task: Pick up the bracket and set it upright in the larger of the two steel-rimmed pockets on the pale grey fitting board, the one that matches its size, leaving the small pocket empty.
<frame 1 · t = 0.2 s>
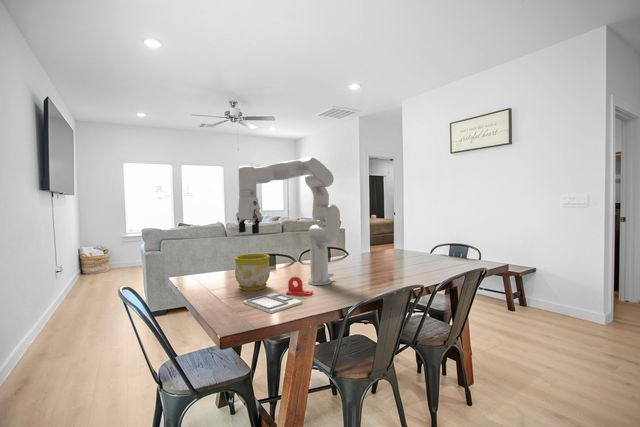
hand: (248, 232, 148), 31 cm above the table, tool pointing down, fingers open, 9 cm apart
bracket: (299, 294, 160), on the table
flowerpot: (252, 288, 173), on the table
fitting board: (272, 303, 146), on the table
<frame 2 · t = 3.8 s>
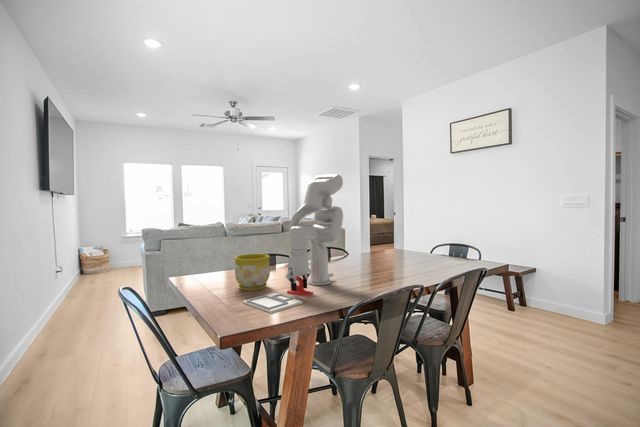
hand: (299, 289, 160), 2 cm above the table, tool pointing down, fingers open, 6 cm apart
bracket: (300, 294, 161), on the table, touching gripper
everything else where it was.
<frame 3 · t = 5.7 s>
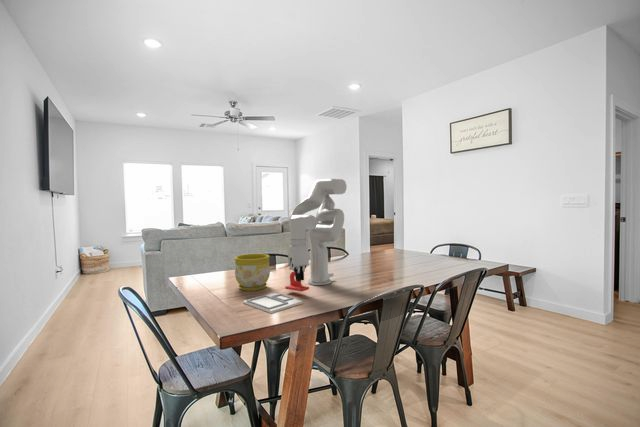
hand: (299, 280, 161), 7 cm above the table, tool pointing down, fingers closed on bracket
bracket: (297, 289, 160), point 2 cm above the table, touching gripper
everything else where it was.
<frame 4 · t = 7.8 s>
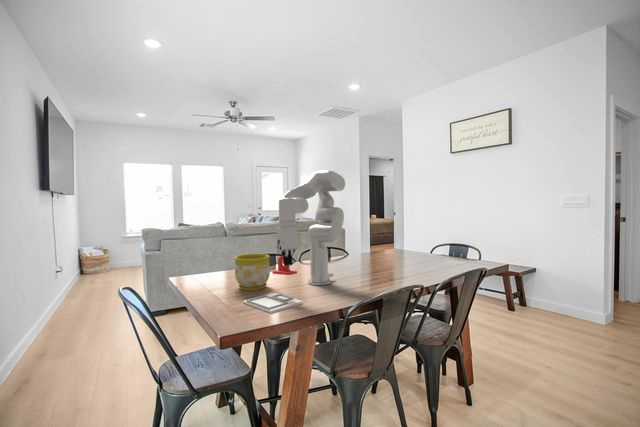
hand: (287, 264, 154), 15 cm above the table, tool pointing down, fingers closed on bracket
bracket: (284, 274, 153), point 11 cm above the table, touching gripper
everything else where it was.
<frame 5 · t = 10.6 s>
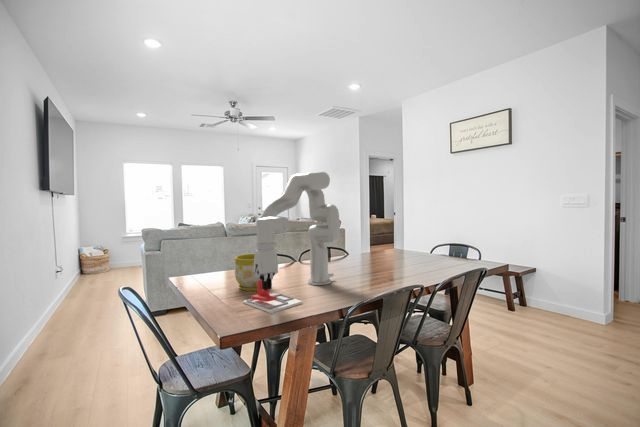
hand: (267, 288, 144), 7 cm above the table, tool pointing down, fingers closed on bracket
bracket: (263, 299, 143), point 3 cm above the table, touching gripper
everything else where it was.
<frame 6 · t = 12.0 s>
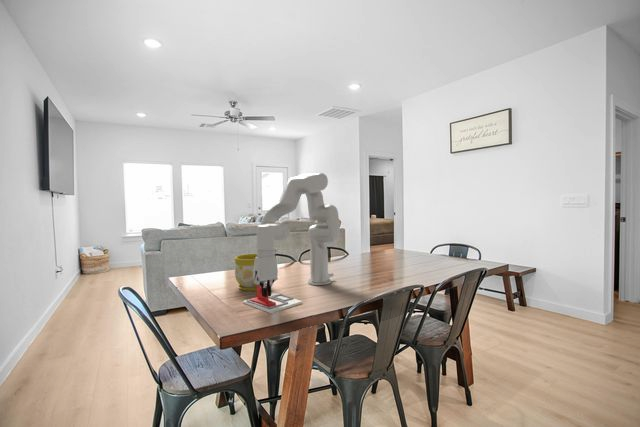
hand: (266, 295, 144), 4 cm above the table, tool pointing down, fingers closed on bracket
bracket: (263, 303, 143), point 1 cm above the table, touching fitting board, gripper
everything else where it was.
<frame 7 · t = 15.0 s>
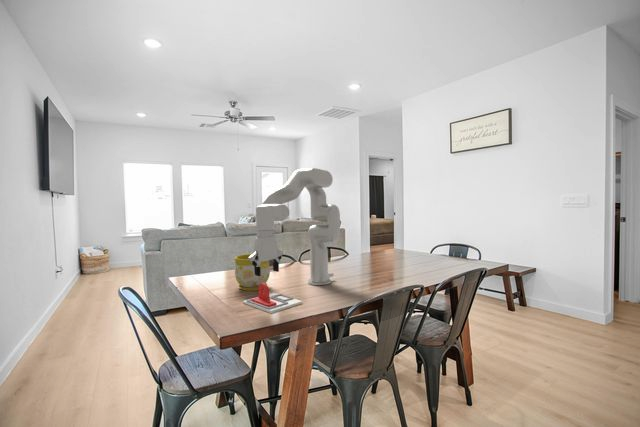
hand: (267, 273, 144), 14 cm above the table, tool pointing down, fingers open, 9 cm apart
bracket: (263, 303, 143), point 1 cm above the table, touching fitting board
everything else where it was.
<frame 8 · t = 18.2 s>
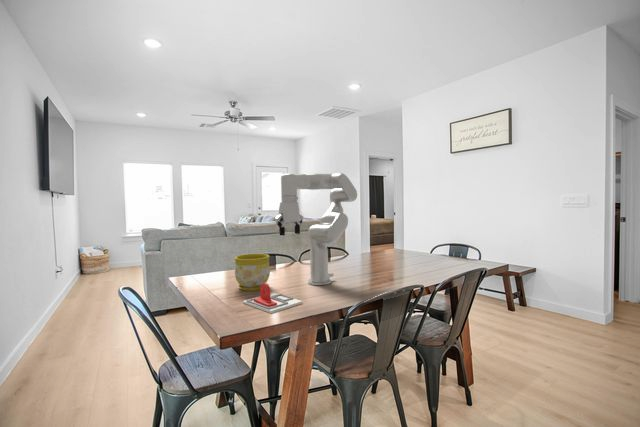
hand: (289, 234, 163), 28 cm above the table, tool pointing down, fingers open, 9 cm apart
nothing on the table moved.
at the end: bracket inside the target area on the fitting board (1.2 cm from its centre), point 0.8 cm above the fitting board's base; bracket tilted 0°; the gripper is holding nothing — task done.
